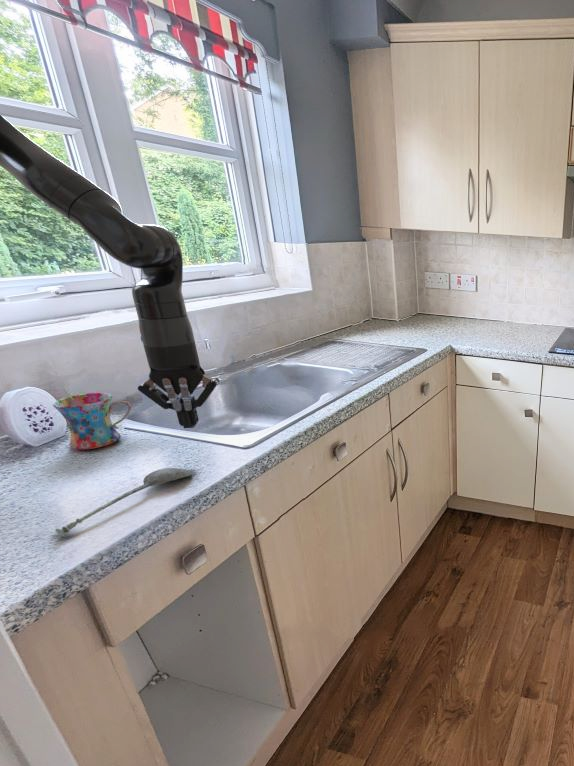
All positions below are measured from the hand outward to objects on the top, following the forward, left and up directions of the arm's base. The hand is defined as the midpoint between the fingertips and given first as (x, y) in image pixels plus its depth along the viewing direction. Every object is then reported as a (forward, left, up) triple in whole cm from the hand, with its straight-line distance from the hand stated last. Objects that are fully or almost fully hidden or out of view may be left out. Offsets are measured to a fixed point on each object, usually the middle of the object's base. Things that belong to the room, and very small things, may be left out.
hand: (190, 426), depth 89 cm
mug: (-24, +20, -10) cm, 33 cm away
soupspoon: (-8, -9, -10) cm, 16 cm away
